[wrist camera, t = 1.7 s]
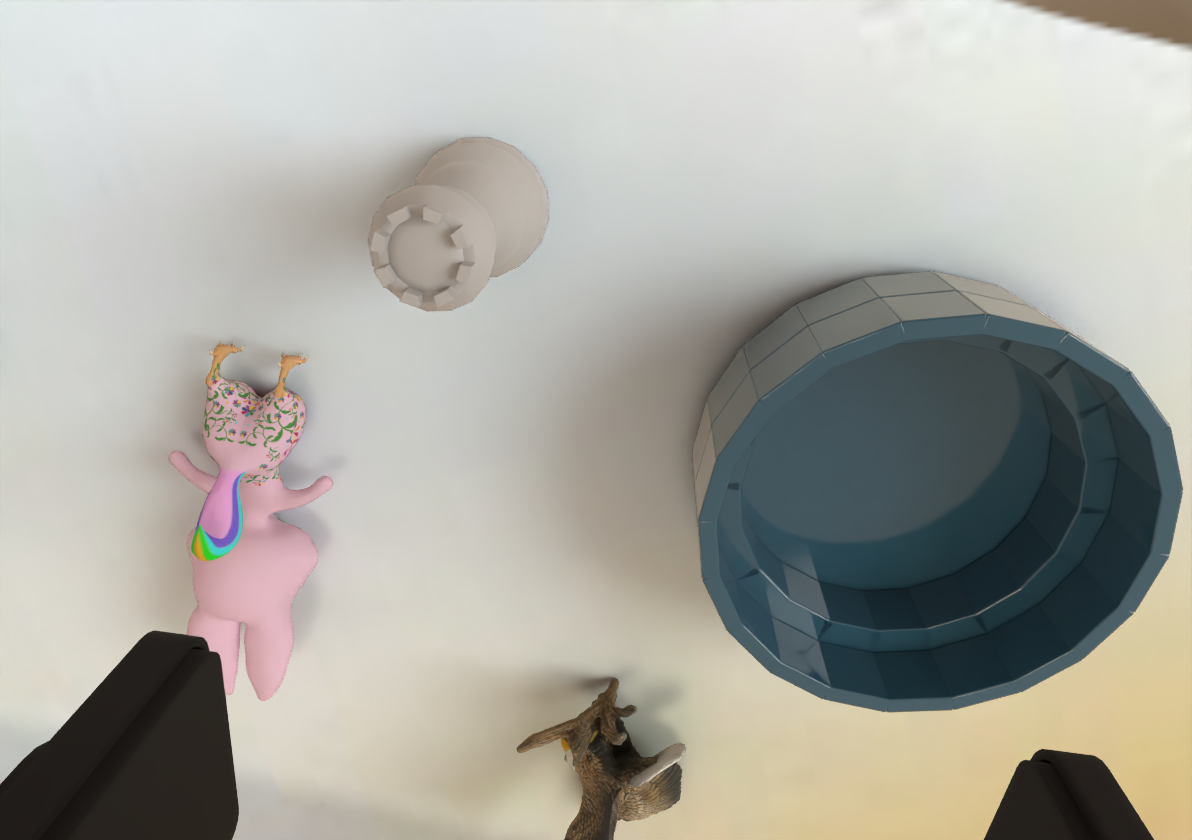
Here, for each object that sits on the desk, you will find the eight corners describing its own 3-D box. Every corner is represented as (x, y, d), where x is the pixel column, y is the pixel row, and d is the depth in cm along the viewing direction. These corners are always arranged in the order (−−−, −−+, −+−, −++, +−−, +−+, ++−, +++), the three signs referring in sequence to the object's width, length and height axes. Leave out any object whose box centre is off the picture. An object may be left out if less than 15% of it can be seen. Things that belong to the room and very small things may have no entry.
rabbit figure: (204, 326, 31) (194, 661, 35) (104, 353, 25) (106, 752, 29) (362, 353, 31) (334, 686, 35) (299, 387, 25) (274, 781, 29)
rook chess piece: (399, 227, 27) (304, 287, 20) (456, 107, 25) (375, 125, 18) (512, 294, 28) (460, 375, 21) (575, 182, 26) (543, 228, 19)
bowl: (655, 571, 32) (654, 665, 27) (751, 228, 26) (773, 267, 21) (992, 642, 32) (1052, 747, 28) (1163, 317, 27) (1280, 377, 22)
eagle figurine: (481, 698, 34) (510, 873, 36) (549, 791, 28) (579, 995, 30) (633, 641, 38) (652, 804, 40) (723, 713, 31) (740, 901, 33)
